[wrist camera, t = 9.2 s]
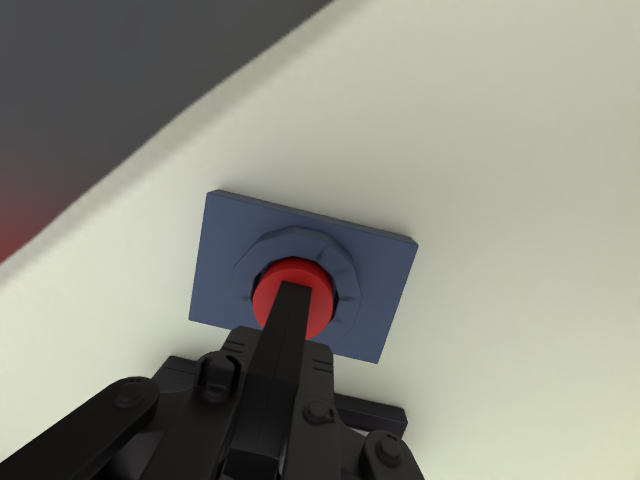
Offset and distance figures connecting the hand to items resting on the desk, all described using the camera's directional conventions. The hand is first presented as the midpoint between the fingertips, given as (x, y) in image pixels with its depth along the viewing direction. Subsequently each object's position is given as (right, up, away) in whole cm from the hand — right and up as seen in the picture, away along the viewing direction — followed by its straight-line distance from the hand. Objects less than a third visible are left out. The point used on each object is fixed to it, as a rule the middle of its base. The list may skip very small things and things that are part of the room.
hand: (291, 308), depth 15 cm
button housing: (0, +1, +5) cm, 5 cm away
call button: (0, +1, +2) cm, 2 cm away
